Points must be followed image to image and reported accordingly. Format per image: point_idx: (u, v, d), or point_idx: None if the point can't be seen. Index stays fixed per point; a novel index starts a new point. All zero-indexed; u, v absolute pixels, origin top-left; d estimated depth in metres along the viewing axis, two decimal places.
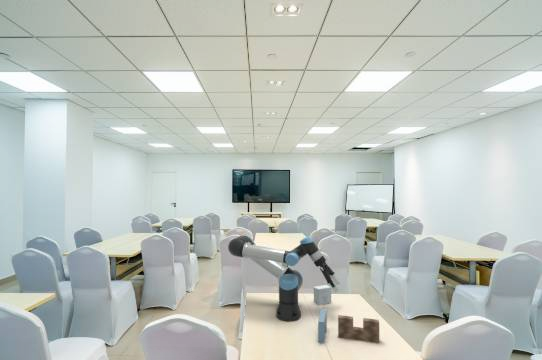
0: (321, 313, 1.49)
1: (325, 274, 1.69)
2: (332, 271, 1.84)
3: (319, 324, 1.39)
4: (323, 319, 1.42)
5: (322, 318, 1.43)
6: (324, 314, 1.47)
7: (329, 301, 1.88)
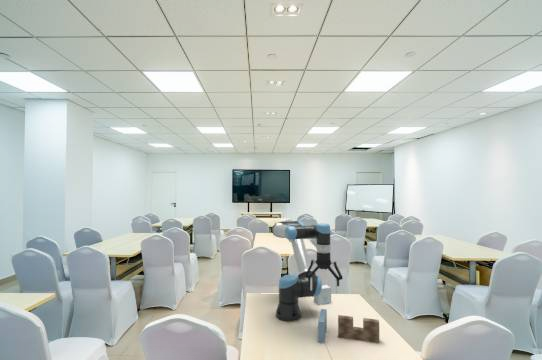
0: (321, 313, 1.49)
1: (308, 267, 1.55)
2: (340, 277, 1.50)
3: (319, 324, 1.39)
4: (323, 319, 1.42)
5: (322, 318, 1.43)
6: (324, 314, 1.47)
7: (329, 301, 1.88)
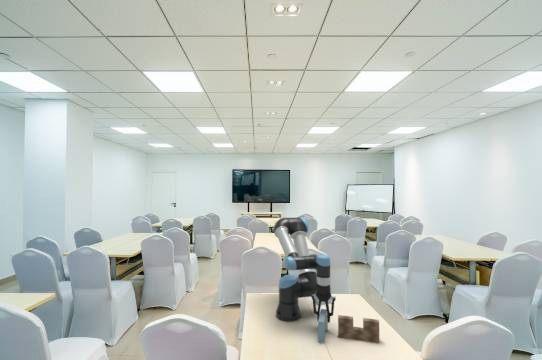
0: (321, 313, 1.49)
1: (313, 303, 1.54)
2: (331, 313, 1.50)
3: (319, 324, 1.39)
4: (323, 319, 1.42)
5: (322, 318, 1.43)
6: (324, 314, 1.48)
7: (329, 301, 1.88)
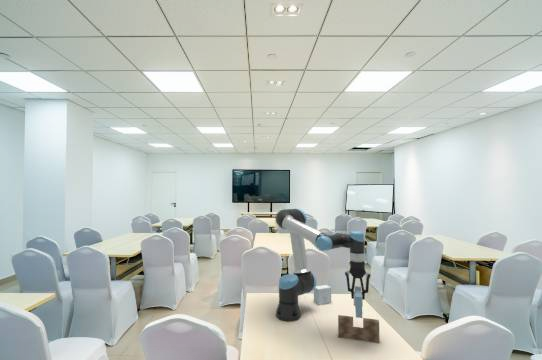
0: (356, 290, 1.45)
1: None
2: (366, 290, 1.46)
3: (356, 299, 1.36)
4: (360, 294, 1.38)
5: (359, 293, 1.40)
6: (359, 290, 1.44)
7: (329, 301, 1.88)
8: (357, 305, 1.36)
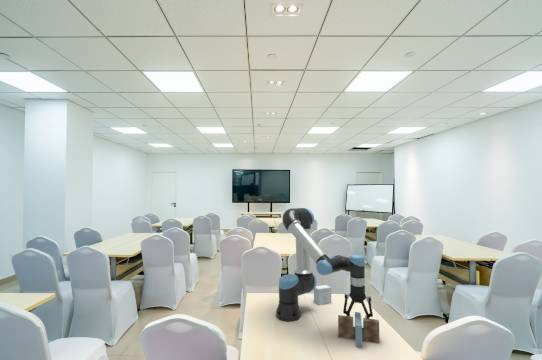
0: (356, 316, 1.45)
1: (344, 303, 1.50)
2: (370, 314, 1.45)
3: (356, 328, 1.35)
4: (360, 323, 1.38)
5: (359, 321, 1.39)
6: (359, 317, 1.44)
7: (329, 301, 1.88)
8: (357, 334, 1.35)
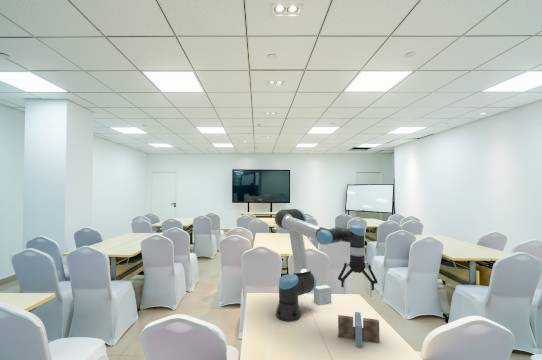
0: (356, 316, 1.45)
1: None
2: (374, 281, 1.46)
3: (356, 328, 1.35)
4: (360, 323, 1.38)
5: (359, 321, 1.39)
6: (359, 317, 1.44)
7: (329, 301, 1.88)
8: (357, 334, 1.35)
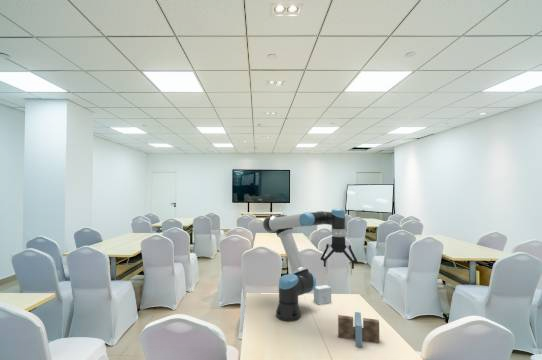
0: (356, 316, 1.45)
1: (324, 251, 1.61)
2: (354, 260, 1.55)
3: (356, 328, 1.35)
4: (360, 323, 1.38)
5: (359, 321, 1.39)
6: (359, 317, 1.44)
7: (329, 301, 1.88)
8: (357, 334, 1.35)
